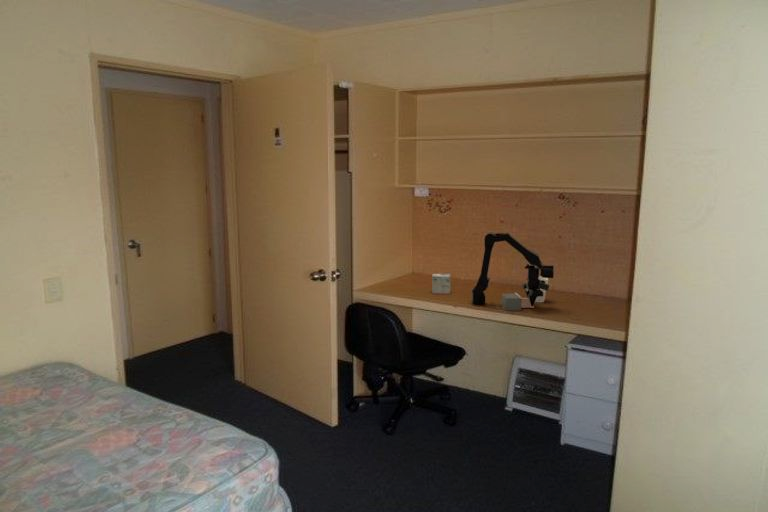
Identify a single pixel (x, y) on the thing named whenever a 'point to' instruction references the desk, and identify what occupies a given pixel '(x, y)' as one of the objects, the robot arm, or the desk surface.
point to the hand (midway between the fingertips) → (531, 305)
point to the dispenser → (511, 302)
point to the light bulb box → (441, 283)
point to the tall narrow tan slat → (526, 303)
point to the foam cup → (541, 298)
